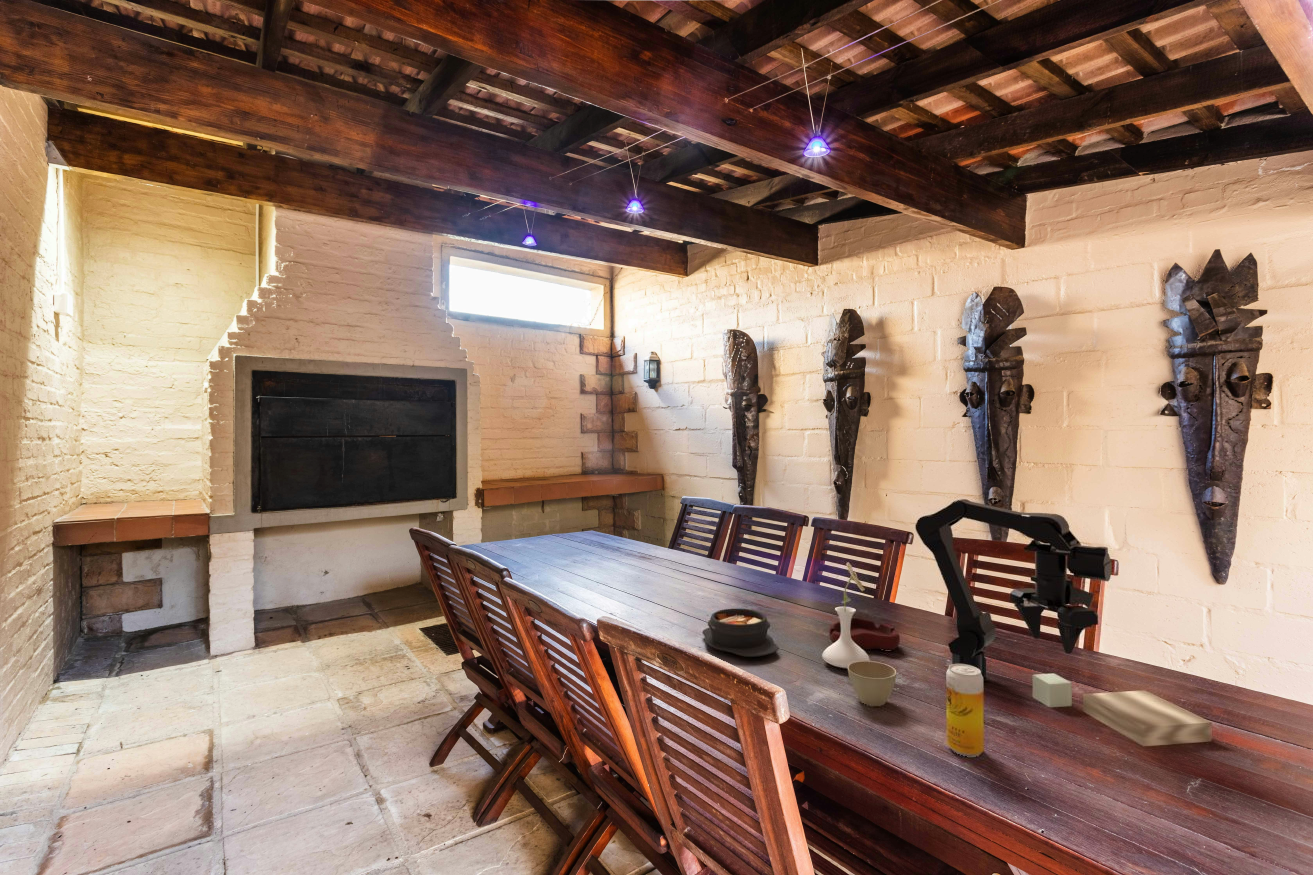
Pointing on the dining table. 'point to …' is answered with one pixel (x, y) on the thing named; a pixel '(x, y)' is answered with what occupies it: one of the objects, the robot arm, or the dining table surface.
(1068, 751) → the dining table surface
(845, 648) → the flower in vase
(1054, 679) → the sage block
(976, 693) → the beer can
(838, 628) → the ashtray
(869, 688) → the flower pot
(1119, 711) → the birch base
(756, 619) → the casserole
